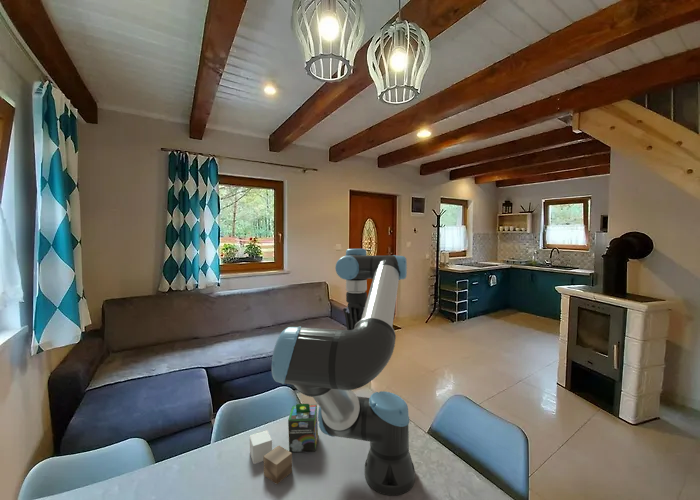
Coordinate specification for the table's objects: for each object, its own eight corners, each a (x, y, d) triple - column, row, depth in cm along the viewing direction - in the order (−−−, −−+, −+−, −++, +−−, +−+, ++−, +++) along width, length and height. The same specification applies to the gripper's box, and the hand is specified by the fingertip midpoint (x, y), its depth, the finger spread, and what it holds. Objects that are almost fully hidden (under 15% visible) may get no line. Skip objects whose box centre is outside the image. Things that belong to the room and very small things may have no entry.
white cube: (272, 457, 98) (271, 440, 98) (253, 464, 95) (253, 446, 95) (267, 446, 104) (267, 429, 103) (249, 452, 101) (249, 435, 101)
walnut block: (292, 472, 92) (291, 453, 92) (276, 484, 87) (276, 464, 87) (279, 463, 96) (278, 445, 96) (263, 475, 91) (263, 456, 91)
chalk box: (318, 434, 110) (317, 395, 109) (315, 452, 101) (315, 409, 100) (292, 435, 110) (292, 395, 109) (288, 453, 100) (287, 409, 100)
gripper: (376, 292, 105) (377, 358, 106) (352, 288, 115) (353, 348, 116) (361, 294, 100) (361, 364, 101) (337, 290, 110) (337, 353, 111)
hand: (357, 356), depth 108 cm, fingers closed
